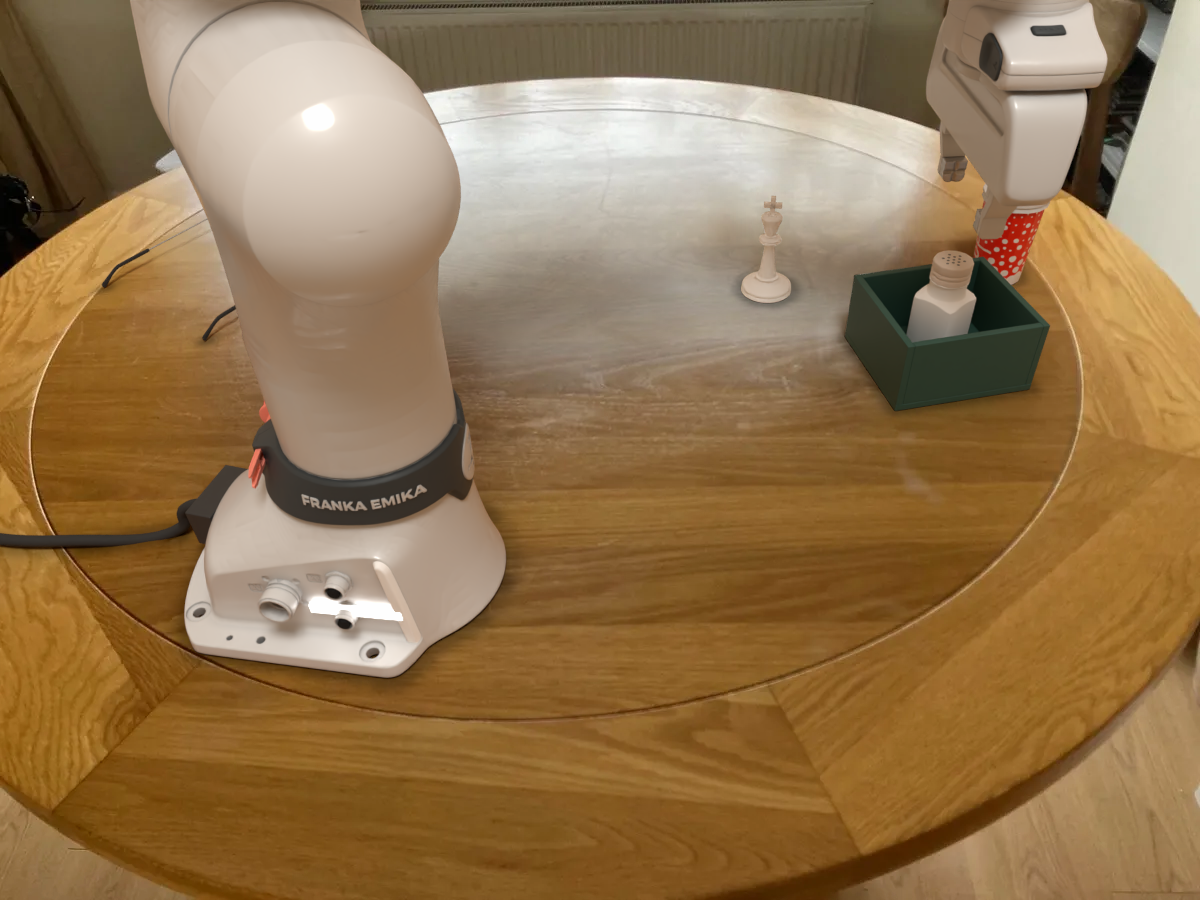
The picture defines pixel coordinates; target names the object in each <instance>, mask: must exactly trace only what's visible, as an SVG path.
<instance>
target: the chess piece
mask: <svg viewBox="0 0 1200 900" xmlns="http://www.w3.org/2000/svg"><path fill="white" fill-rule="evenodd" d="M763 209H769V210H768V211H765V212H763V213H762V214H761V215H760V219H761V223H762V226H763V231H764V233H762V234H760V235H759V237H758V242H759V243H760V244H762V245H763V251H762V255H761V256H762V257H761V260H760V266H759V269H758V271H752V272H750V273H749V274H747V275H746V276H744V277H743V279H742V280H741V281H742V282H741V286H740V291H741V293H742V295H743V296H745V297H746V298H747V299H749V300H750V301H753V302H757V303H761V304H763V303H764V304H773V303H778V302H781V301H783V300H785V299H787V298H788V297H790V295H791V293H792V283H791V280H790V279H789V278H788V276H786V275H785V274H783V273H781V272H778V271H777V268H776V267H777V266H776V246H778V245H779V244H781V243H782V237H781V235H780V234H778V233H777V232H778V231H779V228H780V226H781V224H782V222H783V219H784V216H783V215H782V213H781V212H779V211H776V210H782V209H783V202H782V201H781V202H780V201H779V202H778V201H777V195H771V196H770V201H763Z"/></svg>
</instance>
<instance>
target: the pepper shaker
mask: <svg viewBox="0 0 1200 900" xmlns="http://www.w3.org/2000/svg"><path fill="white" fill-rule="evenodd" d="M972 258H973V257H972V256H970V255H969V254H968V253H965V252H962V251H958V250H943V251H939V252H937V253H936V254H935V255H934V257H933V259H932V263H931V264H932V267H931V272H930V282H929V284H927V285H926V286H924V287H923V288H921V289H920V290H919V291H918V292H917V293H916V294H915V296H914V300H913V304H912V309H911V314H910V319H909V324H908V329H907V334H906V335H907V336H908V338H909V339H910V340H911V342H917V341H924V340H930V339H937V338H943V337H950V336H956V335H963V334H968V330H969V326H970V322H971V318H972V314H973V310H974V306H975V303H976V297H975V295H974V294H973V293H972V292H970V291H969V290H968V289H967V285H969V282H970V279H971V275H972V270H973V266H974V262H973V259H972Z"/></svg>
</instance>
